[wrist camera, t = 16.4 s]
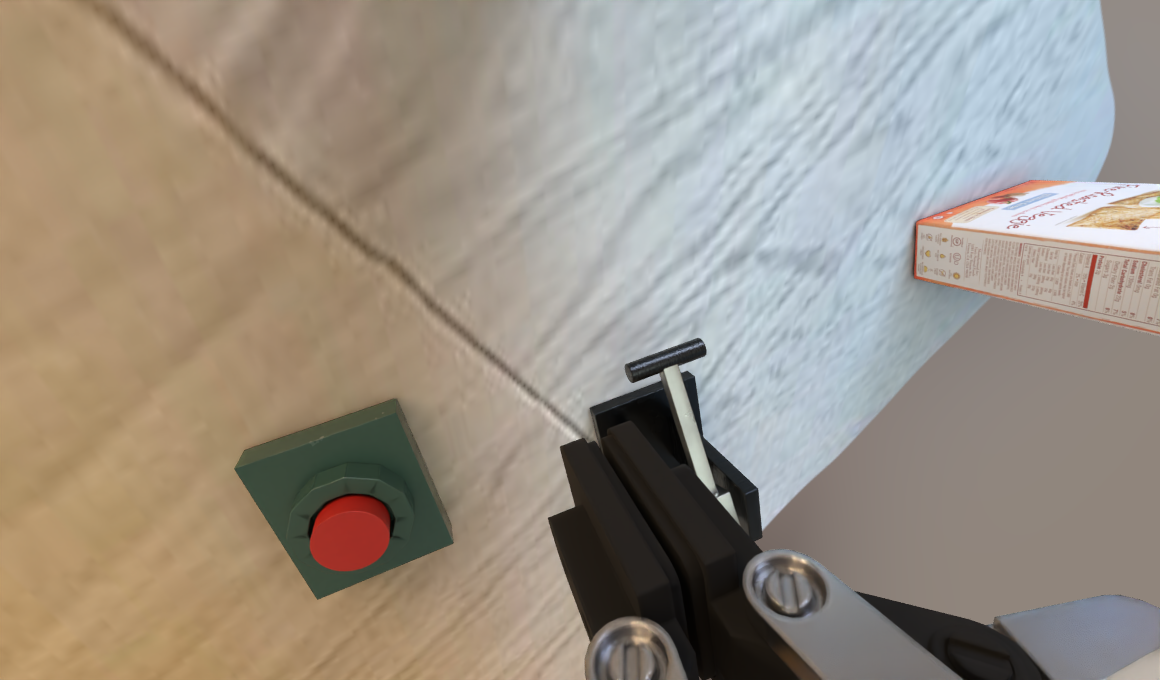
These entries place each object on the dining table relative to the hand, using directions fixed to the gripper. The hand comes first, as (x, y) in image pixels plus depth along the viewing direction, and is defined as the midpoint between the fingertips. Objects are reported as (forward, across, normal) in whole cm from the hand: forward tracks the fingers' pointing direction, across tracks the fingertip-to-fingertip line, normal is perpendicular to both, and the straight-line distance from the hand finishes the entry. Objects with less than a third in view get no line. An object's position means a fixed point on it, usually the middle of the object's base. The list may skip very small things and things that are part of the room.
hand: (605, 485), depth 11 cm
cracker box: (+25, -45, +10) cm, 53 cm away
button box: (+24, +13, +14) cm, 31 cm away
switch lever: (+17, -10, +15) cm, 25 cm away
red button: (+21, +13, +14) cm, 28 cm away
